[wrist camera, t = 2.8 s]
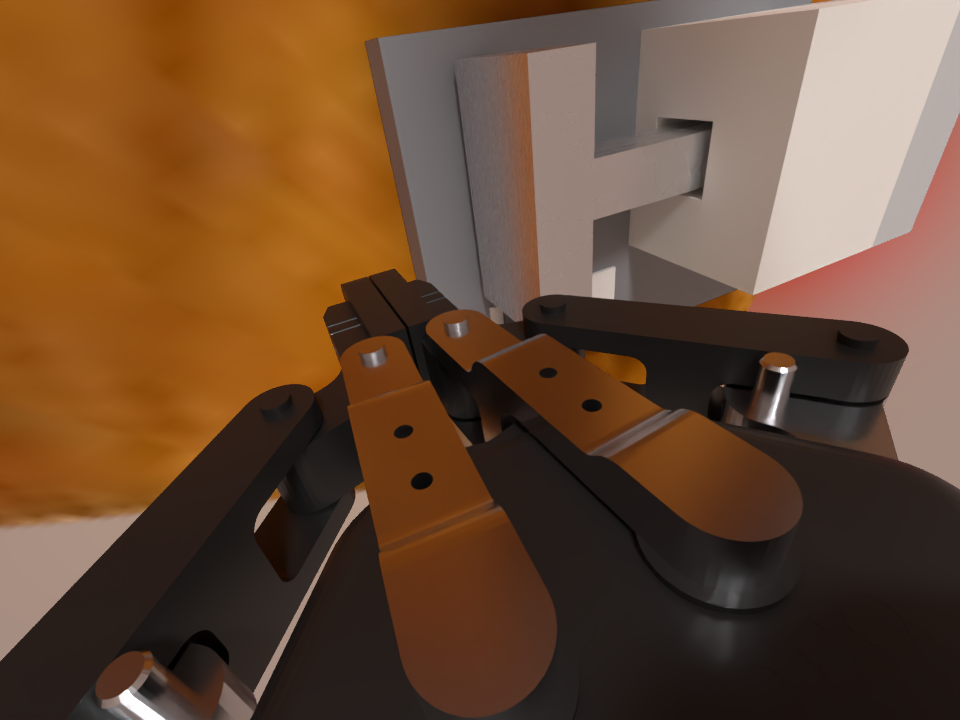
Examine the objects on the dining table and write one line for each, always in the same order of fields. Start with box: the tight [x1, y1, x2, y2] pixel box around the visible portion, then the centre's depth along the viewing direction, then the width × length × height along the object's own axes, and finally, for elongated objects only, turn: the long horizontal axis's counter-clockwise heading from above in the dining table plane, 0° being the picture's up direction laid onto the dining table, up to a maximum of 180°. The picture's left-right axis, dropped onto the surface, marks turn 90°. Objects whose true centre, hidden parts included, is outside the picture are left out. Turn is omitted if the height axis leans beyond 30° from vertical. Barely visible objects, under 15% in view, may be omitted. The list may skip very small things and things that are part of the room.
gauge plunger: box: [454, 42, 713, 323], centre depth 21 cm, size 16×11×6 cm
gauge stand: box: [365, 0, 960, 324], centre depth 22 cm, size 17×23×10 cm
